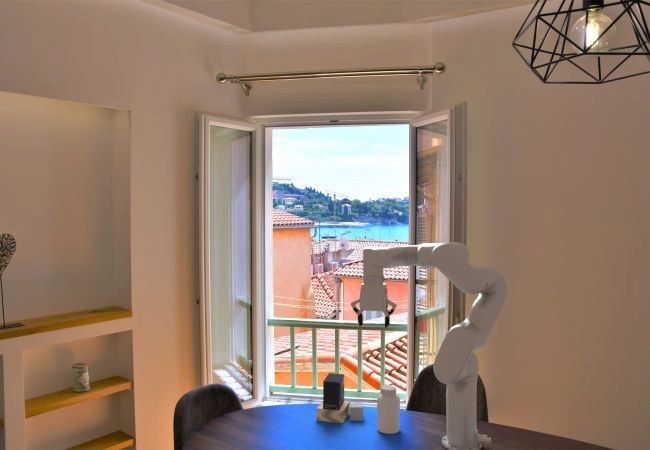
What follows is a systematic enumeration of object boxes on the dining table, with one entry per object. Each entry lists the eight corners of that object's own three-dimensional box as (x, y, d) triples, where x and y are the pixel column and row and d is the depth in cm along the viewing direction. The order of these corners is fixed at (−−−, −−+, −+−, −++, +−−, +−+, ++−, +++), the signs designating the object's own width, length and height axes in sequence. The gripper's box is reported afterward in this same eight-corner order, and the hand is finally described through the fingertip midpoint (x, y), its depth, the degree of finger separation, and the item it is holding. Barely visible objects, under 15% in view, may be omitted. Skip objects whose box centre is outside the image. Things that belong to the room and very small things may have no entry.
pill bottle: (397, 436, 175) (397, 392, 175) (374, 433, 177) (374, 389, 177) (402, 427, 182) (401, 385, 182) (379, 424, 185) (379, 382, 185)
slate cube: (363, 415, 194) (362, 402, 194) (363, 420, 189) (363, 407, 189) (349, 415, 194) (349, 402, 194) (349, 420, 189) (349, 407, 189)
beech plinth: (349, 413, 196) (349, 401, 196) (342, 423, 186) (342, 411, 186) (324, 410, 199) (324, 399, 199) (316, 420, 189) (316, 408, 189)
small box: (340, 410, 186) (339, 382, 186) (322, 409, 188) (322, 381, 188) (345, 400, 197) (345, 373, 196) (328, 399, 198) (328, 372, 198)
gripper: (398, 279, 191) (398, 325, 191) (353, 278, 196) (353, 323, 197) (394, 282, 184) (395, 329, 184) (348, 280, 189) (348, 327, 189)
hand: (373, 326), depth 190 cm, fingers open, 9 cm apart
